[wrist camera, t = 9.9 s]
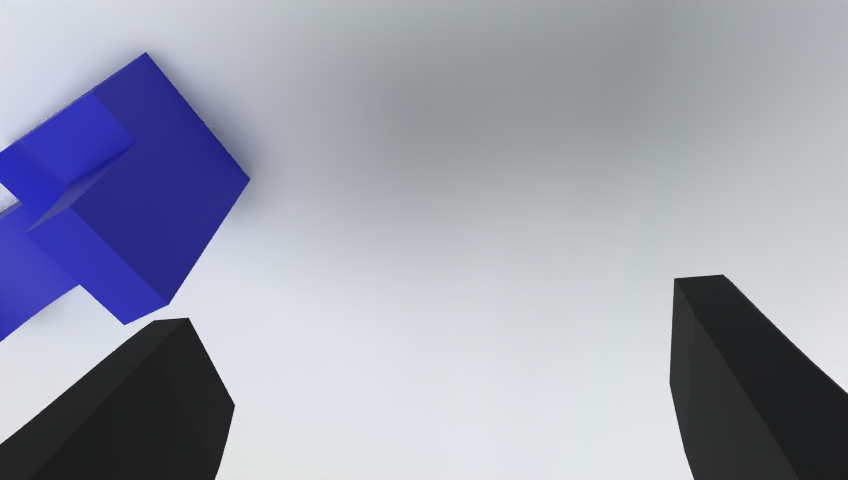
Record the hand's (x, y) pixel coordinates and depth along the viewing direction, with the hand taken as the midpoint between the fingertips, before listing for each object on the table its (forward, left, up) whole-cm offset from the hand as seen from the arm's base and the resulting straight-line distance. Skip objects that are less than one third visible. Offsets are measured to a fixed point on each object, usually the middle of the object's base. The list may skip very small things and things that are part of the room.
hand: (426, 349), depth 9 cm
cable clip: (+13, +1, -10) cm, 16 cm away
